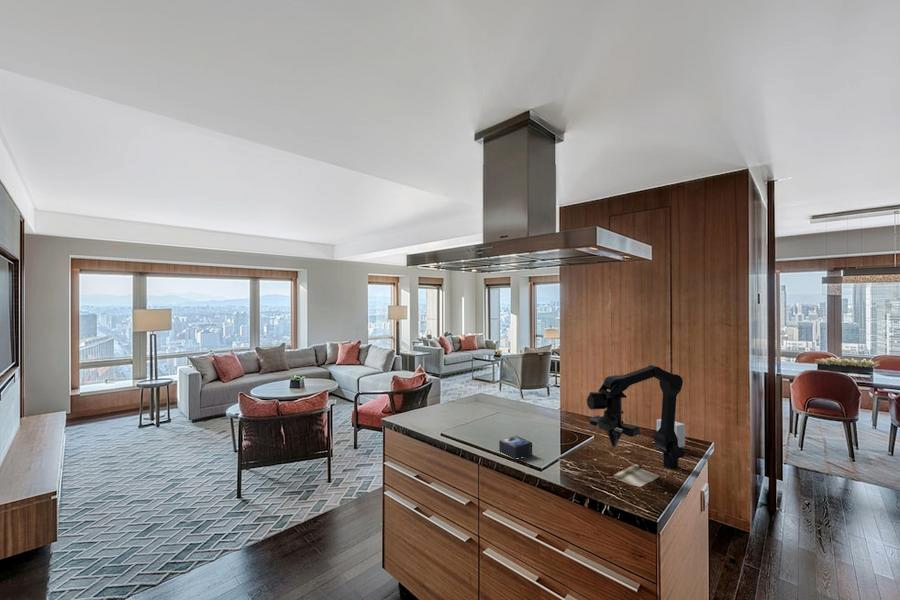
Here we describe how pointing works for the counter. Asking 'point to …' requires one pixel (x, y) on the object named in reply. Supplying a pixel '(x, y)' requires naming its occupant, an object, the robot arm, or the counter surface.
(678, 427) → the skincare box
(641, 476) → the board
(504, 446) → the small box
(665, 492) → the counter surface
